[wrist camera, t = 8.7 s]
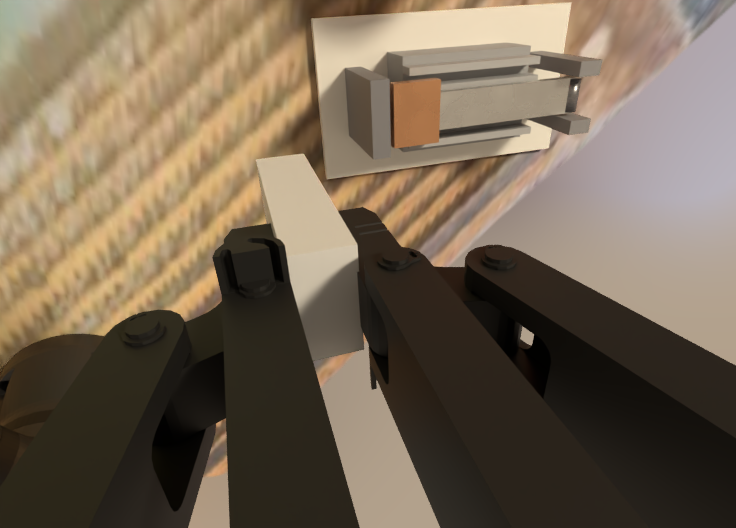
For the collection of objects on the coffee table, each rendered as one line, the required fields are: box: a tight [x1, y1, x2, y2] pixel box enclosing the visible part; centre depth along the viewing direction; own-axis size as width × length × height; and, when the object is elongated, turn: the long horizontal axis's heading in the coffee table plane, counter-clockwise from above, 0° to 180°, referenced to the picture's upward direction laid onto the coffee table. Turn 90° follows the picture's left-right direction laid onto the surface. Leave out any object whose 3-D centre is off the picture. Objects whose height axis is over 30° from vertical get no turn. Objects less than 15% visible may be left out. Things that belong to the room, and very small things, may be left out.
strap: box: [390, 76, 581, 149], centre depth 39 cm, size 18×5×1 cm, turn 93°
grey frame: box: [311, 3, 602, 179], centre depth 41 cm, size 25×14×9 cm, turn 93°
